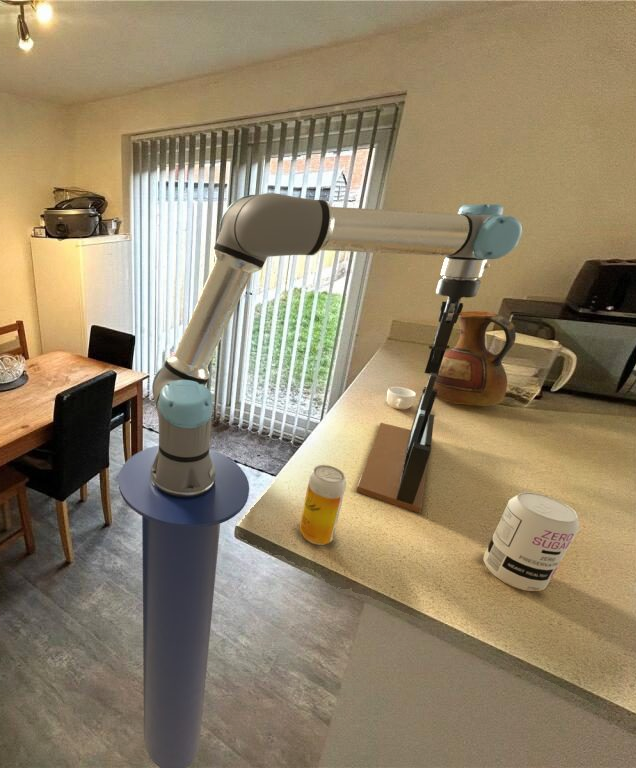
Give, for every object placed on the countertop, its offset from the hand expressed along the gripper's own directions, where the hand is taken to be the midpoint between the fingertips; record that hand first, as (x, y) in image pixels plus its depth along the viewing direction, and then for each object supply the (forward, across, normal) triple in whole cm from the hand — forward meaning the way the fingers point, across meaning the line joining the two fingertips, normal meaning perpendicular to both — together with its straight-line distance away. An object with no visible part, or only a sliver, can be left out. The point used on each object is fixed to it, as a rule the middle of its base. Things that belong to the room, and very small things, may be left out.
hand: (431, 373), depth 99 cm
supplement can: (+21, -39, -18) cm, 48 cm away
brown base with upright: (+21, -12, +2) cm, 24 cm away
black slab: (+18, -4, 0) cm, 19 cm away
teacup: (+21, +24, +5) cm, 33 cm away
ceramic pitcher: (+22, +42, -11) cm, 48 cm away
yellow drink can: (+21, -50, +12) cm, 56 cm away
